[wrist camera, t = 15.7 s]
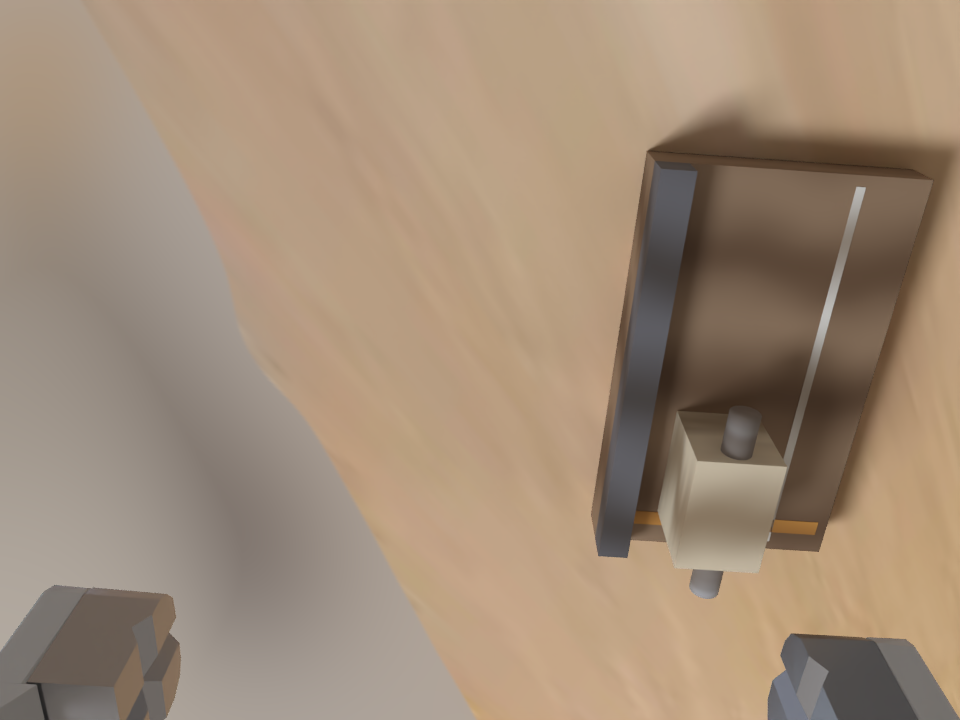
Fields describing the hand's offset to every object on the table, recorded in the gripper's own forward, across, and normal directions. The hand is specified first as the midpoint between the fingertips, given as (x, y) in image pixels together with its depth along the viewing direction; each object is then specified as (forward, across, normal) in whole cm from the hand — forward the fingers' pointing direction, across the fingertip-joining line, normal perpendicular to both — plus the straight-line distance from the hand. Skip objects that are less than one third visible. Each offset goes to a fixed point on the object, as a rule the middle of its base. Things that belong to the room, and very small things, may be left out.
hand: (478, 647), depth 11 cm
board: (+29, -13, +9) cm, 33 cm away
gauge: (+27, -12, +14) cm, 33 cm away
